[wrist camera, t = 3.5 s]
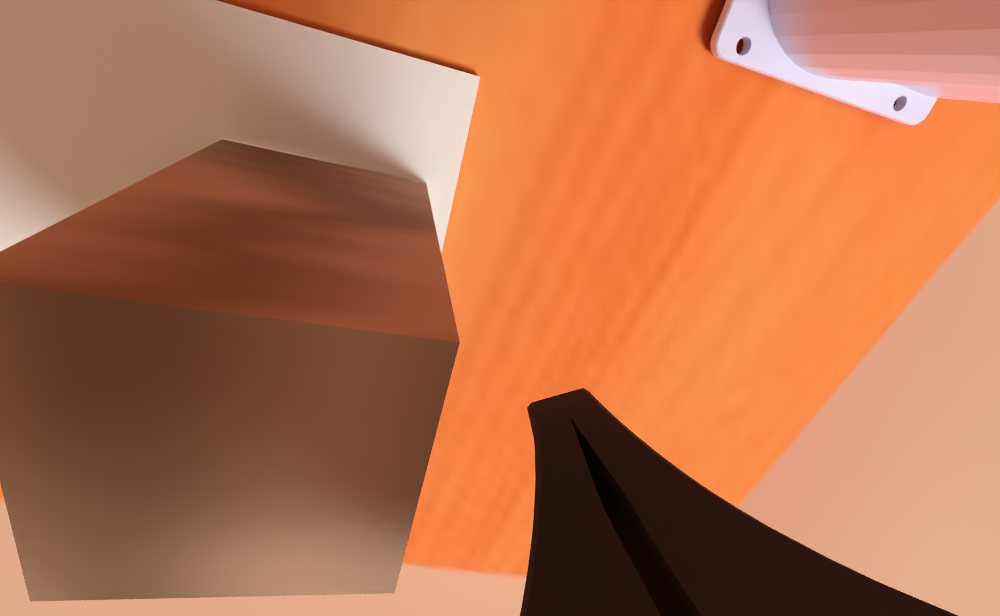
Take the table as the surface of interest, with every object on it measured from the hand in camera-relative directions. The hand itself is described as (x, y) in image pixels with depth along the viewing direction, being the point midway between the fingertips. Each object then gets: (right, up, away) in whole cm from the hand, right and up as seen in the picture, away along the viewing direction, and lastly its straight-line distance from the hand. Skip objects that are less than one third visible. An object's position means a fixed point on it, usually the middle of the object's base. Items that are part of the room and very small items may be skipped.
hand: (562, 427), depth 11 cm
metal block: (-8, +5, +5) cm, 10 cm away
